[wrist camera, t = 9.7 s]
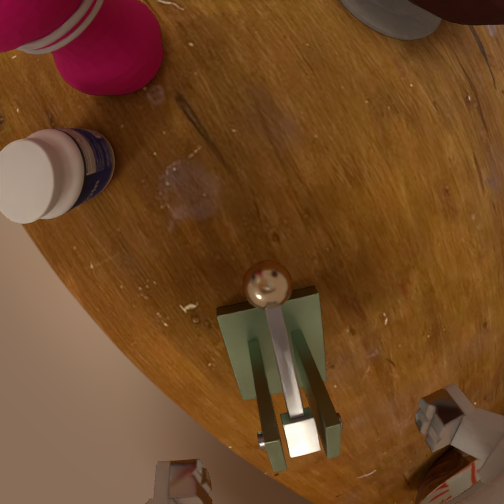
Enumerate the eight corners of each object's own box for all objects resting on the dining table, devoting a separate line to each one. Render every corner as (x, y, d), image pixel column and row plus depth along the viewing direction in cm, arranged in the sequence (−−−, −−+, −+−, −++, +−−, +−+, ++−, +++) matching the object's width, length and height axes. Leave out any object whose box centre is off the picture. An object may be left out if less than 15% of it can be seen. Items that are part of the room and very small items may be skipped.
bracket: (216, 308, 28) (219, 419, 16) (314, 285, 28) (372, 381, 16) (242, 391, 32) (255, 493, 20) (323, 372, 32) (362, 466, 20)
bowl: (397, 499, 53) (407, 522, 46) (409, 458, 44) (425, 488, 37) (477, 456, 53) (490, 475, 46) (505, 402, 44) (524, 424, 37)
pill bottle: (73, 209, 23) (9, 249, 14) (47, 150, 21) (-28, 164, 12) (128, 178, 23) (77, 204, 14) (101, 115, 21) (37, 108, 12)
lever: (238, 269, 24) (236, 263, 20) (283, 259, 24) (288, 251, 20) (279, 443, 21) (282, 463, 18) (321, 433, 21) (331, 450, 18)
